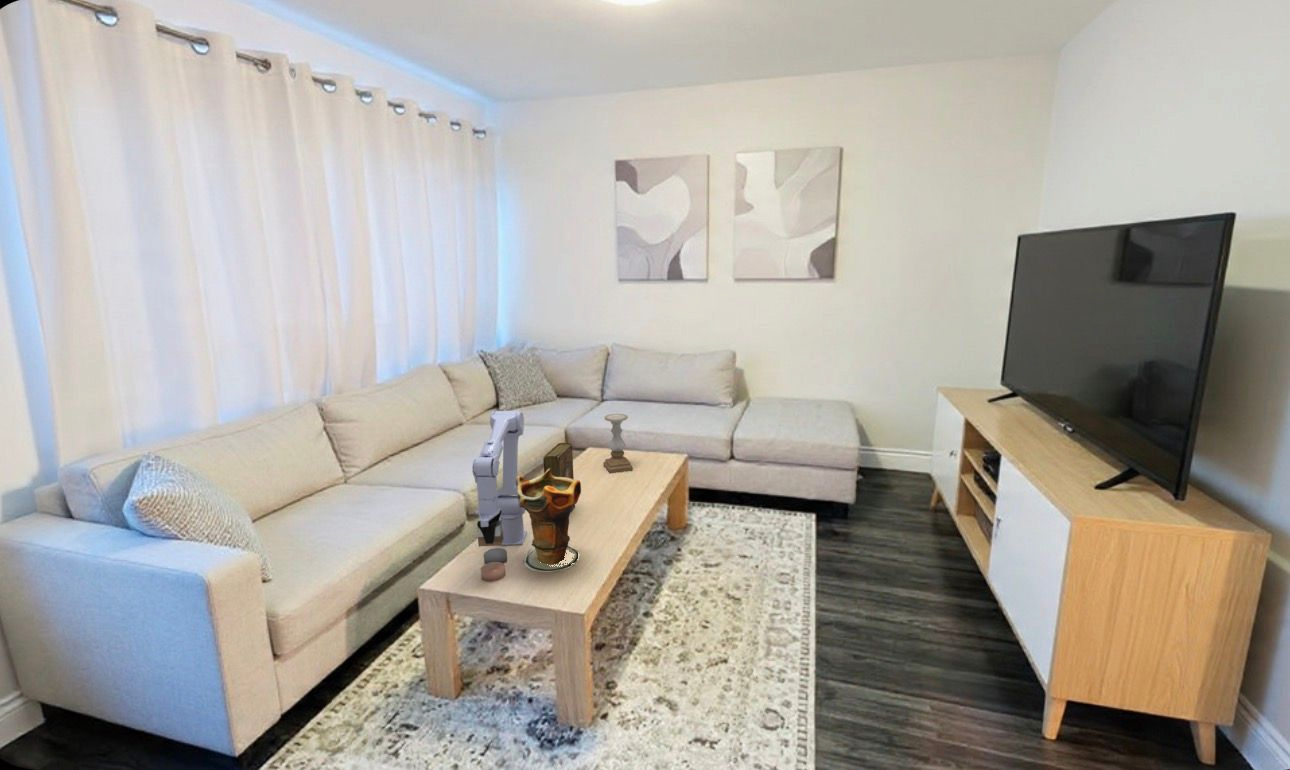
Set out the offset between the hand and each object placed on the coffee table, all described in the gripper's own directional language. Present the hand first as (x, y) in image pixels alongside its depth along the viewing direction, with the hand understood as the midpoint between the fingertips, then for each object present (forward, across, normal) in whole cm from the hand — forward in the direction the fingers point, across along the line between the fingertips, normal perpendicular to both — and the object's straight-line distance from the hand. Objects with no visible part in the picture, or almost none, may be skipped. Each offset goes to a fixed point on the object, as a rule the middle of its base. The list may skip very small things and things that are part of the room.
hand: (491, 539), depth 180 cm
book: (+10, -40, +17) cm, 45 cm away
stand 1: (+10, -7, -1) cm, 13 cm away
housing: (+1, 0, 0) cm, 1 cm away
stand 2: (+10, +2, 0) cm, 11 cm away
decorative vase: (+11, -7, +17) cm, 21 cm away
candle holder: (+10, -88, +38) cm, 96 cm away
